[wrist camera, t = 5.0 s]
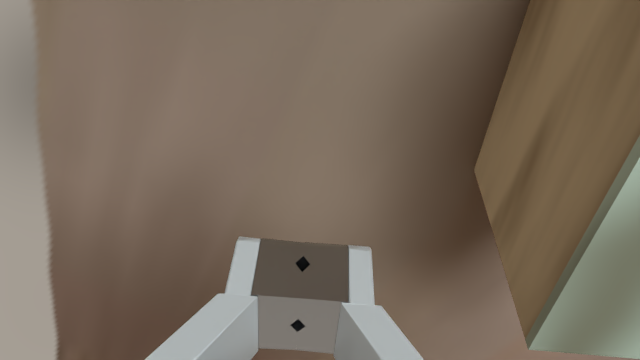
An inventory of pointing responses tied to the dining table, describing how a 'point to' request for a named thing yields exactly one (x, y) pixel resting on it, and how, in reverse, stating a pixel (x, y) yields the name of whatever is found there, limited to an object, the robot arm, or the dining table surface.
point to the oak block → (570, 176)
